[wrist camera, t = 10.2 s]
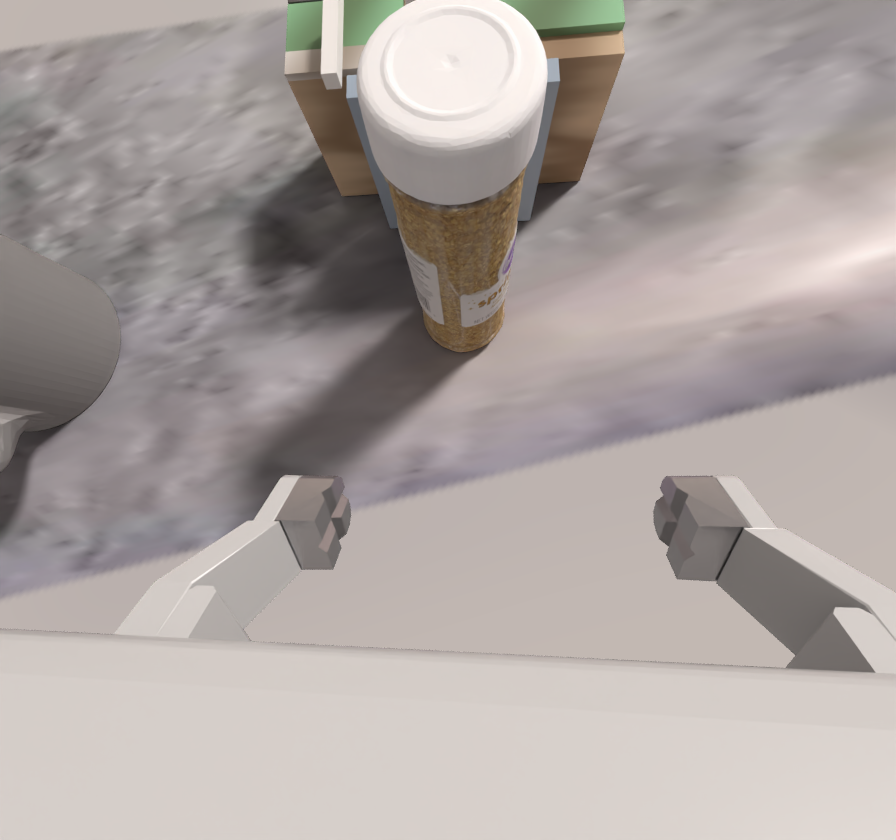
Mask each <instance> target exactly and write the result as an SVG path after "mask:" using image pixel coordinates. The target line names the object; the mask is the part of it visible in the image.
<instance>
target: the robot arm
mask: <svg viewBox="0 0 896 840" xmlns="http://www.w3.org/2000/svg"><path fill="white" fill-rule="evenodd" d="M344 488H345V486H344V483H343V481H342V478H341V477H339V476H316V475H303V476H298V475H285V476H283V477H281V478H280V479H279V481H278V483H277V484H276V486H275V487H274V489H273V490H272V492H271V494H270V495H269V497H268V498H267V500H266V501H265V503H264V505H263V506H262V508H261V509H260V511H259V512H258V514H257V515H256V517H255V519H254V520H253V521H247V522H245V523H244V524H242V525H240V526H239V527H237V528H236V529H234V530H233V531H231V532H230V533H228V534H227V535H225V536H224V537H222V538H221V539H219V540H218V541H216V542H214V543H213V544H211V545H210V546H208V547H207V548H205V549H204V550H202V551H201V552H199V553H198V554H196V555H195V556H193V557H192V558H190V559H189V560H187V561H186V562H184V563H182V564H181V565H179V566H178V567H176V568H175V569H173V570H172V571H170V572H169V573H167V574H166V575H164V576H163V577H161V578H160V579H158V580H156V581H155V582H154V583H153V584H152V585H151V587H150V588H149V589H148V591H147V592H146V593H145V595H144V596H143V597H142V598H141V600H140V601H139V602H138V603H137V605H136V606H135V607H134V609H133V610H132V611H131V612H130V614H129V615H128V616H127V618H126V619H125V620H124V621H123V623H122V624H121V625H120V627H119V628H118V629H117V631H116V632H115V633H114V634H99V633H97V634H96V633H79V632H58V631H39V630H19V629H1V628H0V840H896V592H895V591H893V590H891V589H889V588H888V587H886V586H884V585H882V584H881V583H879V582H877V581H876V580H874V579H872V578H870V577H869V576H867V575H865V574H863V573H862V572H860V571H858V570H857V569H855V568H853V567H851V566H850V565H848V564H846V563H844V562H843V561H841V560H839V559H837V558H835V557H834V556H832V555H831V554H829V553H827V552H825V551H824V550H822V549H820V548H818V547H817V546H815V545H813V544H811V543H810V542H808V541H806V540H805V539H803V538H801V537H799V536H798V535H796V534H794V533H792V532H790V531H789V530H787V529H784V528H783V529H782V528H777V526H776V525H775V524H774V522H773V521H772V520H771V519H770V517H769V516H768V515H767V513H766V512H765V511H764V510H763V508H762V507H761V506H760V504H759V503H758V502H757V500H756V499H755V498H754V497H753V495H752V494H751V493H750V491H749V490H748V489H747V488H746V486H745V485H744V484H743V483H742V481H741V480H740V479H739V478H738V477H736V476H734V475H721V476H666V477H665V478H664V479H663V481H662V484H661V487H660V489H661V491H662V493H663V495H664V496H663V497H661V498H660V499H659V500H657V501H656V503H655V507H654V525H655V529H656V532H657V535H658V537H659V539H660V540H661V541H662V542H664V543H665V544H666V545H667V546H669V548H668V552H667V554H666V556H667V558H668V560H669V562H670V564H671V567H672V569H673V571H674V573H675V576H676V578H677V579H682V580H683V579H684V580H701V581H717V584H718V585H719V586H720V587H721V588H722V589H723V590H724V591H725V592H727V593H728V594H729V595H730V596H731V597H732V598H733V599H734V600H735V601H736V602H738V603H739V604H740V605H741V606H742V607H743V608H744V609H745V610H746V611H747V612H749V613H750V614H751V615H752V616H753V617H754V618H755V619H756V620H757V621H758V622H760V623H761V624H762V625H763V626H764V627H765V628H766V629H767V630H768V631H769V632H771V633H772V634H773V635H774V636H775V637H776V638H777V639H778V640H779V641H780V642H782V643H783V644H784V645H785V646H786V647H787V648H788V649H789V650H791V652H793V653H794V654H795V655H796V656H795V657H794V658H793V660H792V661H791V662H790V663H789V664H788V665H787V667H786V668H772V667H753V666H733V665H714V664H694V663H674V662H673V663H672V662H652V661H634V660H614V659H594V658H574V657H553V656H533V655H514V654H513V655H512V654H492V653H474V652H454V651H433V650H413V649H393V648H373V647H354V646H334V645H315V644H295V643H275V642H255V641H251V640H250V638H249V637H248V635H247V634H246V632H245V631H244V628H245V627H246V626H247V625H248V624H249V623H250V622H251V621H252V620H253V619H254V618H255V617H256V616H257V615H258V614H259V613H260V612H261V611H262V610H263V609H264V608H265V607H266V606H267V605H268V604H269V603H270V602H271V601H272V600H273V599H274V598H275V597H276V596H277V595H278V594H279V593H280V592H281V591H282V590H283V589H284V588H285V587H286V586H287V585H288V584H289V583H290V582H291V581H292V580H293V579H294V578H295V577H296V576H297V575H298V574H299V573H300V572H301V570H305V569H307V570H308V569H310V570H311V569H312V570H313V569H314V570H315V569H318V570H319V569H320V570H321V569H323V570H324V569H325V570H327V569H329V570H331V569H332V570H333V569H334V566H335V564H336V561H337V558H338V555H339V553H340V550H341V545H340V542H339V540H340V539H341V538H342V537H343V536H344V535H346V534H347V531H348V528H349V525H350V518H351V508H350V503H349V500H348V498H346V497H345V496H344V495H343V494H342V492H343V490H344Z"/></svg>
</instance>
